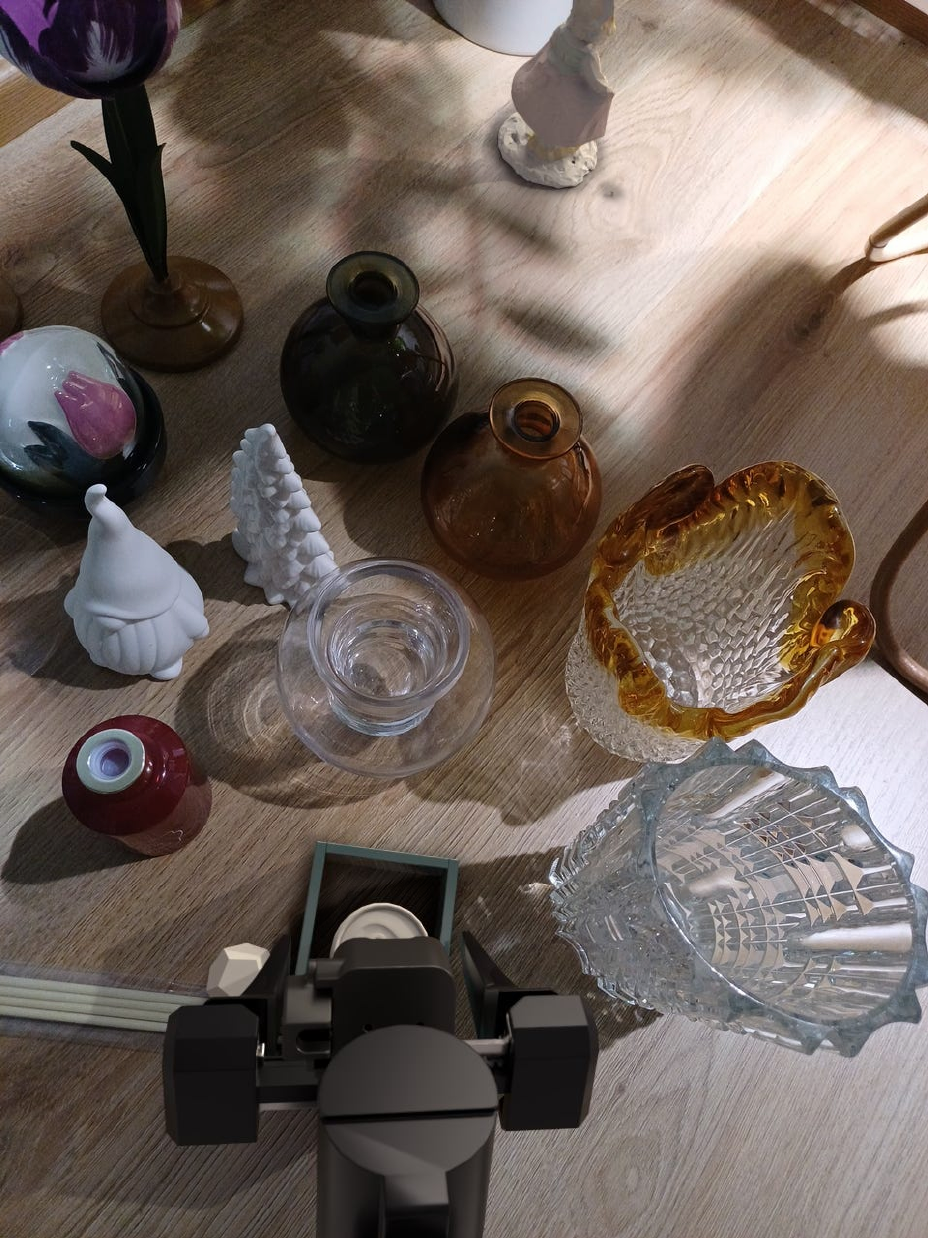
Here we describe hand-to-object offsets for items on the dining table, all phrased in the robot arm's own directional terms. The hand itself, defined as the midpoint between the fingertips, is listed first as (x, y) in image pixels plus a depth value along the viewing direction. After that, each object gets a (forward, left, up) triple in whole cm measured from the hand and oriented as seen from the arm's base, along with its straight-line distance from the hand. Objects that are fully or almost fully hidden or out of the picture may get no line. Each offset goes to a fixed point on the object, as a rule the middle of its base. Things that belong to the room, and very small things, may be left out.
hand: (376, 939), depth 54 cm
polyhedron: (-3, +7, -7) cm, 10 cm away
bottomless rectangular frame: (-1, 0, -7) cm, 7 cm away
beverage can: (-1, 0, -7) cm, 7 cm away
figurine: (+62, -7, -7) cm, 63 cm away
